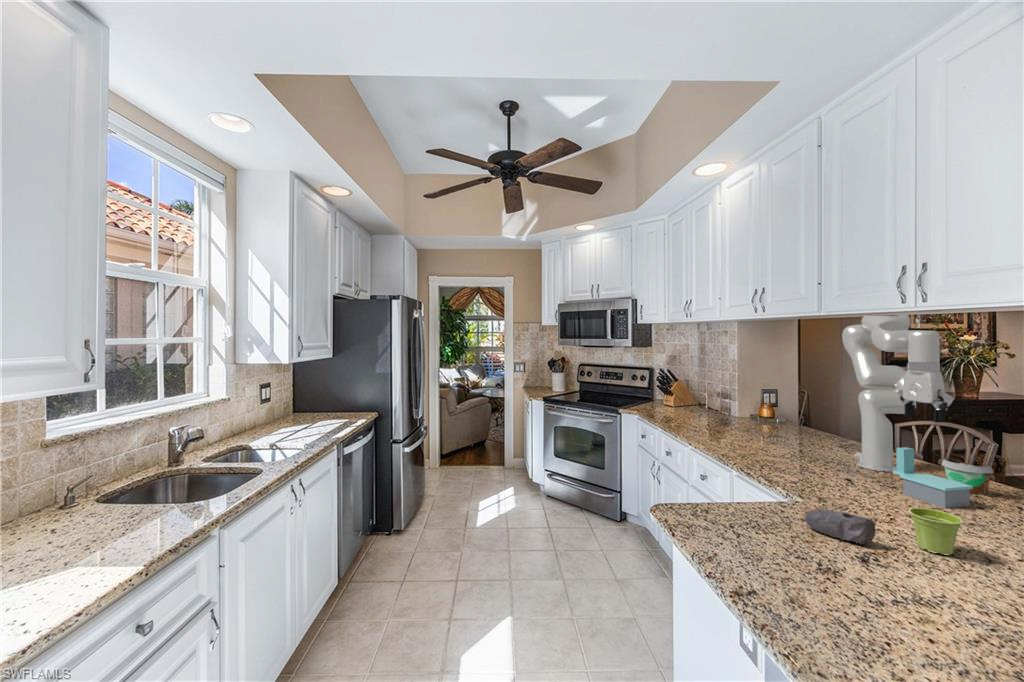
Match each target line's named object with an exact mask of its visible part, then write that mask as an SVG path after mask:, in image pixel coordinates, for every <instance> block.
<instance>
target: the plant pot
mask: <svg viewBox="0 0 1024 682" xmlns="http://www.w3.org/2000/svg"><path fill="white" fill-rule="evenodd" d="M908 513H909V514H910V516H911V519H912V521H913V526H914V531H915V536H916V542H917V546H918V545H919V546H920V547H922V548H924V549H927V550H930V551H933V552H937V553H941V554H940V555H942V554H951V553H953V554H954V549H955V545H956V539H957V535H958V530H959V529H960V527H961V524H963V523H964V522H963V519H962V518H960V517H959V516H956V515H954V514H951V513H949V512H946V511H945V512H944V511H941V510H937V509H934V508H933V509H932V508H926V507H909V509H908ZM919 546H918V547H919ZM920 547H919V548H920Z"/></svg>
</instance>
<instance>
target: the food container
mask: <svg viewBox="0 0 1024 682" xmlns="http://www.w3.org/2000/svg"><path fill="white" fill-rule="evenodd" d="M941 466H942V467H944V471H945V479H948V480H952V481H956V482H959V483H963V484H967V485H970V486H973V489H969V490H970V495H977V496H978V495H979V496H985V497H988V495H989V494H988V492H989V487H990V480H991V474H994V470H993V468H992V466H991V465H990V466H977V465H973V464H971V463H965V462H956V461H955V462H954V461H951V460H950V461H949V460H947V459H946V458H945V457H944V458H943V460H942V461H941Z"/></svg>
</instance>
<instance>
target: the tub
mask: <svg viewBox="0 0 1024 682" xmlns="http://www.w3.org/2000/svg"><path fill="white" fill-rule="evenodd" d="M902 494H903V495H904V496H908V497H910V498H913V499H917V500H919V501H923V502H924V503H925V502H926V503H927V504H928V503H929V504H930V505H935V506H937V507H940V508H942V509H943V508H944V509H953V508H962V507H963V508H965V507H971V505H970V503H971V502H970V501H971V500H970V498H971V497H970V495H971V494H970V490H969V489H964V490H950V491H944V490H941V489H937V488H934V487H931V486H927V485H924V484H921V483H917V482H914V481H911V480H907V479H904V478H902Z"/></svg>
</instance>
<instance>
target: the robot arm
mask: <svg viewBox="0 0 1024 682" xmlns="http://www.w3.org/2000/svg"><path fill="white" fill-rule="evenodd" d="M910 327H911V318H910V316H909V314H908V315H898V316H865V315H863V316H862V318H861V324H853V325H848V326H846V327H845V328H844V329H843V331H842V334H841V337H842V338H841V339H842V344H843V347H844V349H845V351H846V352H847V354H848V355H849V357H850V359H851V362H852V366H853V368H854V373H855V375H856V380H857V382H858V384H859V386H861V387H862V388H865V389H864V390H862V391H860V392H859V394H858V396H857V398H858V399H857V400H858V406H859V410H860V419H861V452H859V451H858V452H856V453H855V454H854V456H853V457H854V458H858V459H859V460H858V461H857V463H856V464H857V466H859V467H860V468H862V467H863V468H862V469H866V470H870V471H875V470H876V471H875V472H883V471H885V472H886V473H893V471H895V470H897V465H896V464H895V465H894V444H893V443H894V437H893V436H894V435H893V434H894V432H893V431H894V430H893V429H894V428H893V424H892V422H891V421H890V419H888V417H886V415H887V414H894V415H895V414H898V415H900V414H901V415H904V417H905V418H914V417H916V410H917V403H923V404H931V405H932V406H933V407H934V409H933V422H934V423H946V411H947V410H948V408H949V407H951V406H952V403H953V401H954V400H955V399H954V397H953V396H951V395H950V394H948V393H946V392H945V384H944V377H943V374H942V373H941V371H940V370H941V366H940V365H941V364H940V360H941V359H940V356H941V355H940V347H941V345H940V333H939V332H938V331H936V330H922V329H921V330H920V329H918V330H914V329H913V330H911V329H910V330H909V328H910ZM866 345H874V346H875V347H876V348H878V349H879V350H880V351H883V352H888V353H899V352H900V353H904V352H905V353H907V358H908V361H907V364H906V367H907V368H908V370H905V369H903V368H902V367H901V366H899V365H882V364H881V363H880V361H879V359H878V354H876V353H875V352H874V351H873V350H872V349H871V348H869V347H867V346H866ZM885 414H886V415H885Z"/></svg>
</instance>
